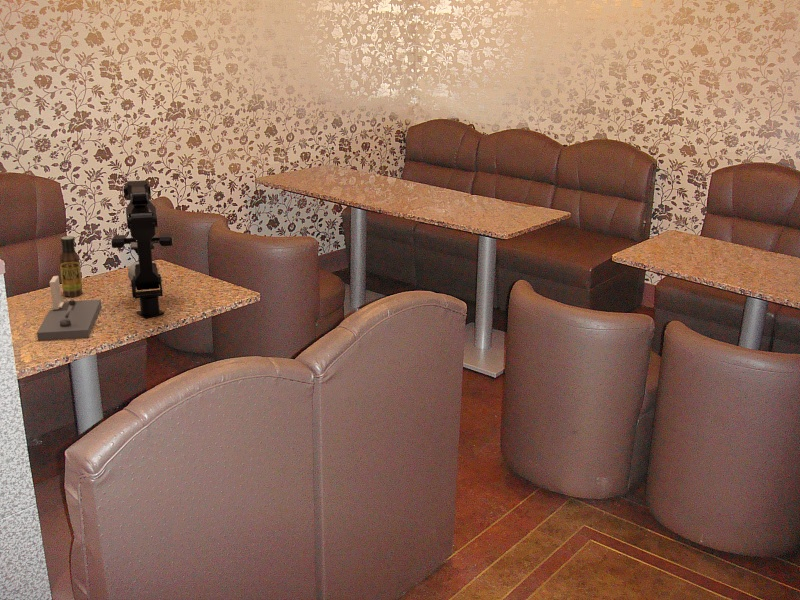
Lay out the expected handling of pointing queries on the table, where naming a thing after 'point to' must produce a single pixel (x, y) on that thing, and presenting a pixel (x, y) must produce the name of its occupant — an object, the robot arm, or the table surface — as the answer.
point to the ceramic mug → (133, 271)
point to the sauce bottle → (70, 268)
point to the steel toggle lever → (69, 308)
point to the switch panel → (70, 321)
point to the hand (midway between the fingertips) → (145, 265)
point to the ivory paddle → (56, 293)
